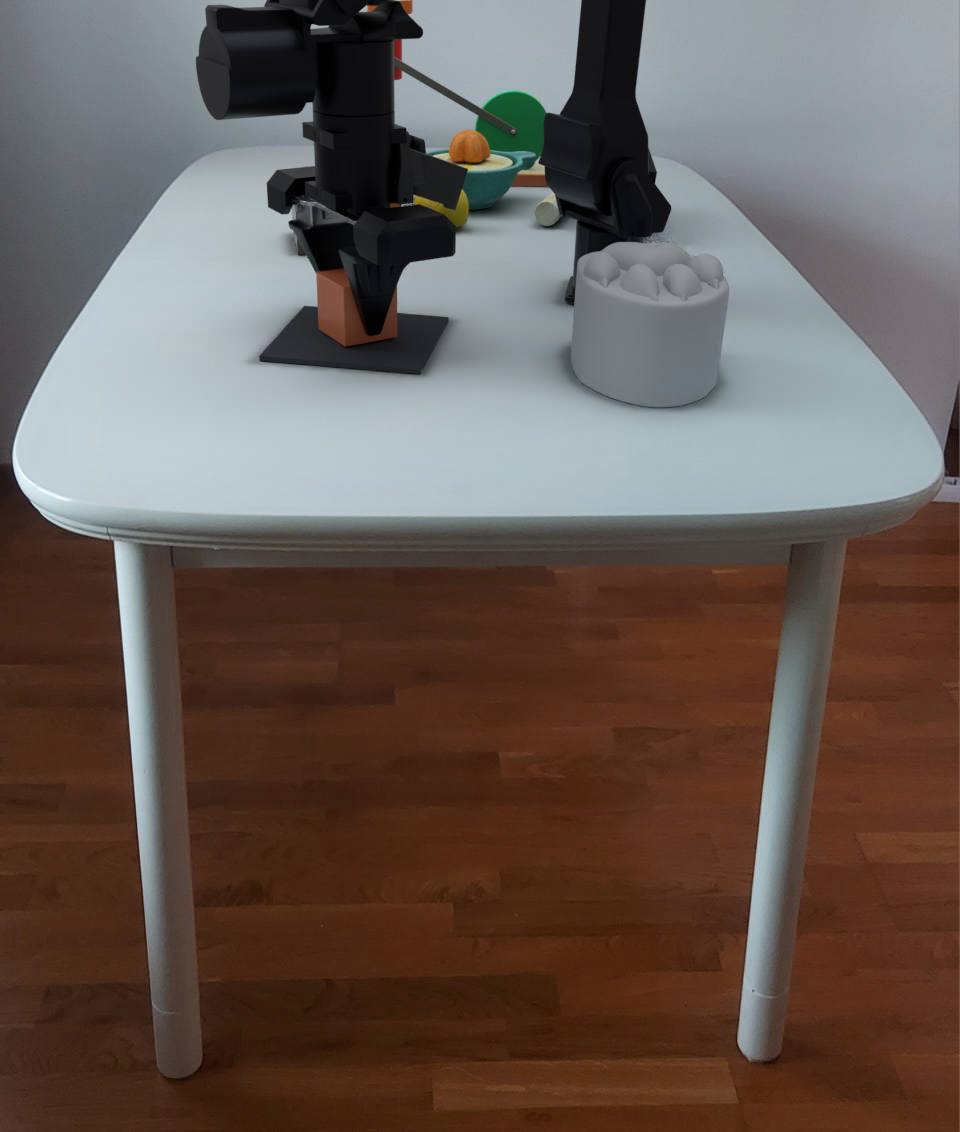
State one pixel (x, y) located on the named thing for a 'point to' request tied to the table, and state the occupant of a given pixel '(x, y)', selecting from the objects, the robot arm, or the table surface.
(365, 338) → the top block
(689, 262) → the lumpy-topped squat cylinder
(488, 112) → the crank mechanism
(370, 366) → the mat
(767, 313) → the table surface
